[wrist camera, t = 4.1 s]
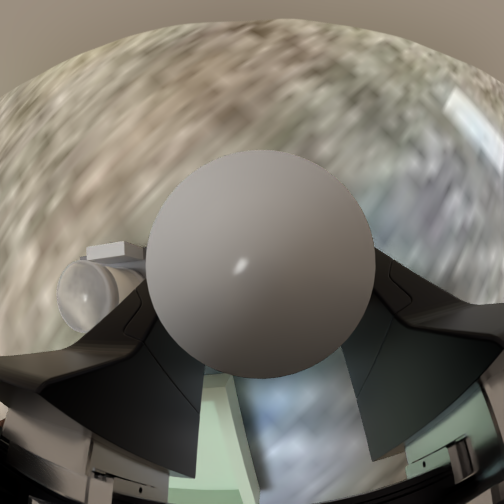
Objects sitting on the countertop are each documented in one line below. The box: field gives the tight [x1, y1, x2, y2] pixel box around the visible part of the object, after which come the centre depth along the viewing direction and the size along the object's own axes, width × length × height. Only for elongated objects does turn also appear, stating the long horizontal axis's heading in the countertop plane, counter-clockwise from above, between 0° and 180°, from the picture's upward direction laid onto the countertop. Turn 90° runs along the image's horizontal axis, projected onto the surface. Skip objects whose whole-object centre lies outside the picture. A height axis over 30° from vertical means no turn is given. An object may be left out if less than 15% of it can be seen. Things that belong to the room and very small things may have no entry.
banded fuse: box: [146, 150, 375, 379], centre depth 10 cm, size 4×4×12 cm
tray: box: [168, 373, 260, 504], centre depth 14 cm, size 11×11×3 cm
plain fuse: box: [57, 260, 145, 333], centre depth 14 cm, size 4×4×5 cm
